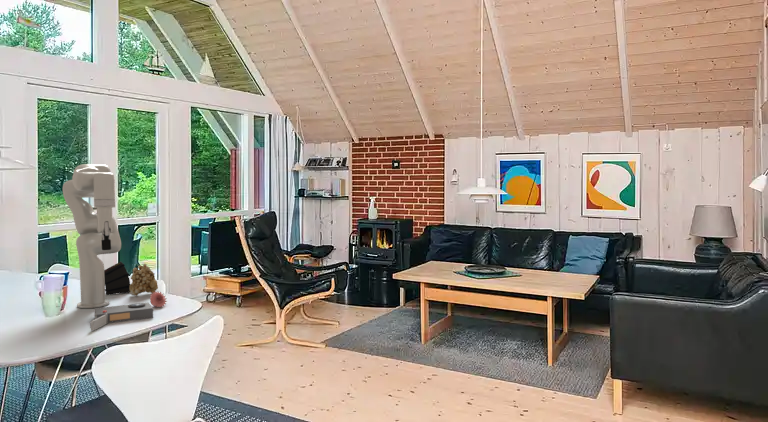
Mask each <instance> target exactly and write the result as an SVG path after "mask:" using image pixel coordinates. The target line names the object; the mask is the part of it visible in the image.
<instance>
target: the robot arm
mask: <svg viewBox="0 0 768 422" xmlns="http://www.w3.org/2000/svg"><path fill="white" fill-rule="evenodd" d="M115 183H116V182H115V174H114V173H112V172H111V169H110V167H109V166H108V165H106V164H104V163H103V164H102V163H100V164H96V163H83V164H79V165H77V166H76V167H75V168H74V170H73V174H72V179H69V180H67V181H65V182H64V183H63V185H62V194H63V198H64V201H65V204H66V205H67V206H68V208H69V209H70V212H71V214H72V217H73V221H74V226H75V229H76V232H77V233H78V234H79V236H78V237H77V238H76V240H75V245H76V246H75V247H76V251H77V255H78V263H79V280H80V281H79V284H80V285H79V286H80V287H79V288H80V302H78V303H76V304H77V305H76V307H77V308H79V309H94V308H102V307H107V306H108V305H109V304H110V300H109V299H106V291H105V289H106V288H105V276H104V270H105V265H104V262H103V261H102V260H101V259H100V258H99V257H98V256H99V255H106V254H107V255H109V254H116V253H119V252H120V250H121V249H122V240H121V237H120V236H121V235H120V232H119V228H118V226H117V223H116V219H115V217H114V216H113V208H116V192H115V189H116V188H115V187H116V186H115ZM84 198H93V206H94V208H93V206H92V205H91V204H90V203H89V202H88V201H87V200H85V199H84ZM94 209H96V213H95V211H94Z"/></svg>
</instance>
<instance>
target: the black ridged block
mask: <svg viewBox="0 0 768 422" xmlns="http://www.w3.org/2000/svg"><path fill="white" fill-rule="evenodd" d="M104 276H105V295H106V296H108V295H109V294H110V295H116V293H119V294H127V293H126V292H128V293H130V289H129V288H130V284H131V281H130V280H131V279H130V277H129V276H130V274H129V272H128V271H127V268H126V267H125V263H123V262H122V261H119V262H117V263H115V264H113V265H111V266H109V267H107V268H106V269H104Z"/></svg>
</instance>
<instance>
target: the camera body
mask: <svg viewBox="0 0 768 422" xmlns="http://www.w3.org/2000/svg"><path fill="white" fill-rule="evenodd" d="M93 310H94V320H95V319H97V318H99V317H101V316H103V315H104V314H107V315H108V324H111V323H113V324H114V323H119V322H121V323H122V322H128V321H136V320H143V319H152V318H154V308H153V305H152V304H151V303H150V302H148V301H147V302H139V303H137V302H136V303H131V304H121V305H112V306H102V307H96V308H93Z"/></svg>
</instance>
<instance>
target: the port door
mask: <svg viewBox="0 0 768 422" xmlns="http://www.w3.org/2000/svg"><path fill="white" fill-rule="evenodd" d="M89 323H90V327H89V329H90V331H91V332H92V331H95V330H97V329H99V328H101V327H103V326H106V325H108V324H109V323H108V315H107V314H104V315H103V316H101V317H99V318H97V319H95V318H94V319H93V320H91V321H90V322H89Z"/></svg>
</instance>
